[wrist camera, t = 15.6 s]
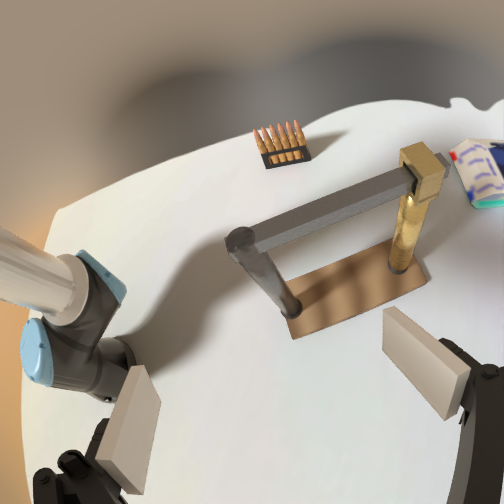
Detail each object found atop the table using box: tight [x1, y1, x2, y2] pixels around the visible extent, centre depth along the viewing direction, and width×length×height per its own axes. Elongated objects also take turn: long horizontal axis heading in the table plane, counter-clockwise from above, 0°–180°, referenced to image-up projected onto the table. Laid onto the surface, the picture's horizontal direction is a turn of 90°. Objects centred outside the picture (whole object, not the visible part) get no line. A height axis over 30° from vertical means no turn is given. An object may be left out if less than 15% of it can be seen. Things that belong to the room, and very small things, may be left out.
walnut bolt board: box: [281, 237, 427, 340], centre depth 48 cm, size 25×10×2 cm, turn 105°
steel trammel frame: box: [225, 153, 451, 317], centre depth 37 cm, size 25×3×24 cm, turn 105°
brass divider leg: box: [389, 142, 446, 271], centre depth 35 cm, size 4×4×25 cm
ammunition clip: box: [253, 119, 311, 169], centre depth 61 cm, size 11×2×12 cm, turn 90°
